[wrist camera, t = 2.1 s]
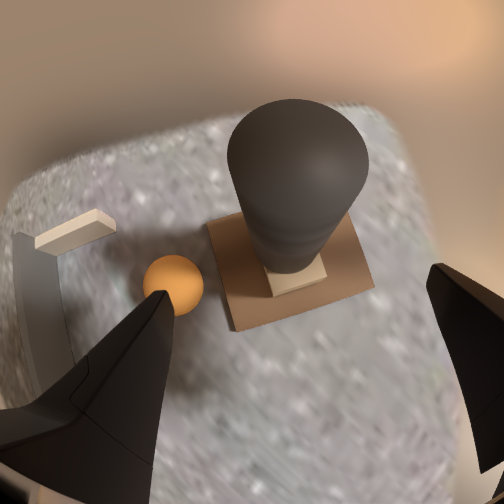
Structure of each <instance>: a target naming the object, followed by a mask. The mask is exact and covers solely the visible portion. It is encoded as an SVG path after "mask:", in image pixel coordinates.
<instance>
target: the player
mask: <svg viewBox="0 0 504 504" xmlns="http://www.w3.org/2000/svg"><path fill="white" fill-rule="evenodd" d="M227 161H228V167H229V171H230V174H231V177H232V181H233V184H234V187H235V190H236V193H237V197H238V200H239V203H240V206H241V210H242V213H243V216H244V219H245V223H246V226H247V229H248V232H249V236H250V239H251V242H252V245H253V249H254V252H255V254H256V256H257V258H258V260H259V261H260V262H261V263H262V264H263V266H264V269H265V272H266V276H267V279H268V282H269V285H270V289H271V292H272V295H273V298H275V297H279V296H282V295H285V294H288V293H291V292H294V291H298V290H301V289H304V288H307V287H310V286H313V285H316V284H318V283H319V282H320V281H322V280H323V279H325V278H326V277H327V274H326V271H325V268H324V265H323V262H322V259H321V256H320V254H319V252H320V250H321V249H322V248H323V246H324V245H325V243H326V242H327V240H328V239H329V238H330V236H331V235H332V233H333V232H334V230H335V229H336V227H337V226H338V224H339V223H340V221H341V220H342V218H343V217H344V216H345V214H346V213H347V211H348V210H349V208H350V207H351V205H352V204H353V202H354V201H355V199H356V197H357V196H358V194H359V193H360V191H361V190H362V188H363V186H364V184H365V181H366V178H367V175H368V169H369V158H368V152H367V149H366V145H365V143H364V141H363V139H362V137H361V135H360V133H359V132H358V130H357V129H356V128H355V127H354V125H353V124H352V123H351V122H350V121H349V120H348V119H347V118H345V117H344V116H343V115H341V114H340V113H339V112H337V111H335V110H334V109H332V108H330V107H328V106H325V105H323V104H320V103H317V102H313V101H308V100H301V99H287V100H279V101H274V102H271V103H268V104H265V105H263V106H260V107H258V108H257V109H255V110H253V111H252V112H250V113H249V114H248V115H246V116H245V117H244V118H243V119H242V120H241V121H240V122H239V124H238V125H237V126H236V128H235V129H234V131H233V133H232V135H231V137H230V140H229V144H228V150H227Z"/></svg>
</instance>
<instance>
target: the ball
mask: <svg viewBox="0 0 504 504" xmlns="http://www.w3.org/2000/svg"><path fill="white" fill-rule="evenodd" d="M143 290H144V295H145V297H146V298H147V297H148V296H149V295H150V294H151V293H152V292H153V291H155V290H166V291H167V292H168V293H169V296H170V299H171V301H172V304H173V307H174V311H175V316H180V315H184V314H186V313H188V312H190V311H191V310H193V309H194V308H195V307H196V306H197V304H198V303H199V301H200V299H201V297H202V294H203V279H202V275H201V273H200V271H199V269H198V268H197V267H196V265H195V264H194V263H193V262H191V261H190V260H189V259H187V258H185V257H182V256H178V255H167V256H164V257H161V258H159V259H157V260H156V261H154V262H153V263H152V264H151V265H150V266H149V268H148V269H147V271H146V273H145V276H144V280H143Z"/></svg>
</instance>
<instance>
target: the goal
mask: <svg viewBox="0 0 504 504" xmlns="http://www.w3.org/2000/svg"><path fill="white" fill-rule="evenodd" d="M114 232H116V223H115V220H114V219H112V218H111V217H109V216H108V215H106V214H104V213H103V212H101V211H100V210H98V209H97V208H96V209H93V210H91V211H89V212H87V213H84V214H82V215H80V216H78V217H76V218H74V219H72V220H69V221H67V222H65V223H63V224H61V225H59V226H57V227H55V228H53V229H51V230H49V231H47V232H45V233H43V234H41V235H39V236H37V237H35V238H34V237H32V236H29V235H27V234H24V233H22V232H18V233H16V234H14V235H13V274H14V288H15V298H16V307H17V315H18V322H19V328H20V334H21V339H22V345H23V350H24V354H25V359H26V363H27V367H28V372H29V375H30V379H31V383H32V386H33V390H34V393H35V397H36V399H37V398H38V397H39V396H40V395H41V394H43V393H44V392H45V391H46V390H47V389H49V388H50V387H51V386H52V385H53V384H54V383H56V382H57V381H58V380H59V379H60V378H62V377H63V376H64V375H65V374H66V373H67V372H68V371H70V370H71V369H72V368H73V367H74V366H75V363H74V359H73V355H72V351H71V347H70V343H69V338H68V333H67V328H66V323H65V318H64V312H63V306H62V300H61V293H60V286H59V278H58V268H57V257H56V256H58V255H60V254H63V253H65V252H67V251H70V250H72V249H74V248H77V247H79V246H82V245H84V244H86V243H89V242H91V241H94V240H96V239H99V238H101V237H104V236H106V235H109V234H111V233H114Z"/></svg>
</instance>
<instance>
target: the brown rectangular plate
mask: <svg viewBox="0 0 504 504" xmlns="http://www.w3.org/2000/svg"><path fill="white" fill-rule="evenodd" d="M206 224H207V227H208V231H209V235H210V239H211V243H212V246H213V250H214V254H215V258H216V261H217V265H218V269H219V272H220V276H221V279H222V283H223V287H224V290H225V294H226V297H227V301H228V304H229V308H230V311H231V315H232V318H233V321H234V325H235V328H236V332H240V331H243V330H247V329H250V328H254V327H257V326H261V325H264V324H267V323H271V322H274V321H277V320H281V319H284V318H287V317H290V316H293V315H297V314H300V313H303V312H306V311H309V310H312V309H315V308H318V307H321V306H324V305H327V304H330V303H332V302H335V301H338V300H341V299H344V298H347V297H349V296H352V295H355V294H358V293H360V292H363V291H366V290H368V289H371V288H374V287H375V286H374V283H373V280H372V277H371V274H370V271H369V268H368V265H367V262H366V259H365V256H364V253H363V250H362V248H361V245H360V242H359V240H358V237H357V234H356V232H355V229H354V226H353V224H352V221H351V219H350V216H349V214H348V211H347V213H346V214H345V216H344V217H343V218H342V220H341V221H340V223H339V224H338V226H337V227H336V229H335V230H334V232H333V233H332V235H331V236H330V238H329V239H328V240H327V242H326V243H325V245H324V246H323V248H322V249H321V250H320V252H319V254H320V256H321V259H322V262H323V265H324V268H325V271H326V274H327V277H326V278H325V279H323V280H322V281H320V282H319V283H318V284H316V285H313V286H310V287H307V288H304V289H301V290H298V291H294V292H291V293H288V294H285V295H282V296H279V297H275V298H273V295H272V292H271V289H270V285H269V282H268V279H267V276H266V272H265V269H264V266H263V264H262V263H261V262H260V261H259V260H258V258H257V256H256V254H255V252H254V249H253V245H252V242H251V239H250V236H249V232H248V229H247V226H246V223H245V219H244V216H243V213H242V212H239V213H236V214H232V215H229V216H226V217H223V218H220V219H216V220H213V221H210V222H207V223H206Z"/></svg>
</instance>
